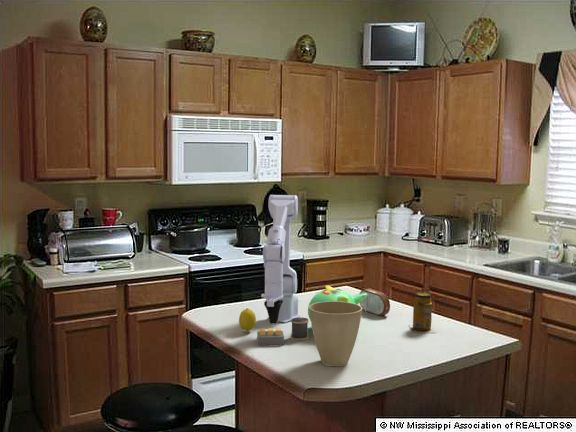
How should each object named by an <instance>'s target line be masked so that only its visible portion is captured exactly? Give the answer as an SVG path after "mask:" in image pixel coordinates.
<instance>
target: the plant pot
mask: <svg viewBox="0 0 576 432" xmlns="http://www.w3.org/2000/svg"><path fill="white" fill-rule="evenodd" d="M308 306H309V305H308ZM309 310H310V318H311V321H310V323H311V329H312V333H313V338H314V343H315V345H316V349H317V351H318V355H319V359H320V360H321V363H322V364H323V365H326V366H329V367H343V366H346V365H348V363H349V360H350V358H351V356H352V353H353V350H354V348H355V344H356V341H357V337H358V334H359V328H360V325H361V318H362V313H363V309H362V307H361V305H360V304H358V305H357V304H354V303H349V302H340V301H326V302H318V303H314V304H312V305H310V306H309Z"/></svg>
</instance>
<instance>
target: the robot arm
mask: <svg viewBox="0 0 576 432" xmlns="http://www.w3.org/2000/svg"><path fill="white" fill-rule="evenodd" d="M298 208H299V198H298V196H297V195H296V194H294V195H292V194H291V195H290V194H289V195H288V194H270V195H269V197H268V211H269V214H270V217H271V218H272V219H273V221H272V226H271V227H270V228H269V229H268V233H267V239H266V245H264V246H263V248H262V259H263V268H264V293H261V295H260V297H261V298H264V299H265V301H264V302H263V304H264V308H265V309H266V312H267V315H268V317H267V318H266V319H267V320H269V323H270V324H274V325H276V324H278V322H280V323H284V324H285V323H288V322H291V319H292V318H296V317H301V316H300V314H299V298H298V296H297V294H296V293H297V290H298V278H297V277H298V275H297V272H296V270H295V269H293V268H292V267H291V266H290V260H291V257H290V256H291V255H290V254H291V226H292V223H293V221H294V220H296V219H297V218H298V212H299V210H298Z"/></svg>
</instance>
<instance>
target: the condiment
mask: <svg viewBox="0 0 576 432" xmlns="http://www.w3.org/2000/svg"><path fill="white" fill-rule="evenodd" d="M412 309H413V310H412V313H413V314H412V324H410V325H408V327H409V328H410V329H411V330H412V331H413V333H417V334H431V333H432V334H436V333H437V332H436V331H435V330H434V329H433V328H432V321H433V320H432V319H433V318H432V317H433V316H432V313H433V312H432V310H433V303H432V295H431V294H430V293H428V292H417V293H415V294H414V301H413V308H412Z"/></svg>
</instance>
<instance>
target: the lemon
mask: <svg viewBox="0 0 576 432" xmlns="http://www.w3.org/2000/svg"><path fill="white" fill-rule="evenodd" d="M238 323H239V326H240V328H241V329H242V330H244V331H245V332H246V333H249V332H250V331H252V330H253V329H254V328H255V327H256V323H257V317H256V313H255V312H254V311H253V310H252V309H249V308H248V307H247V308H246V309H244V310H241V312H240V314H239V317H238Z"/></svg>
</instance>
